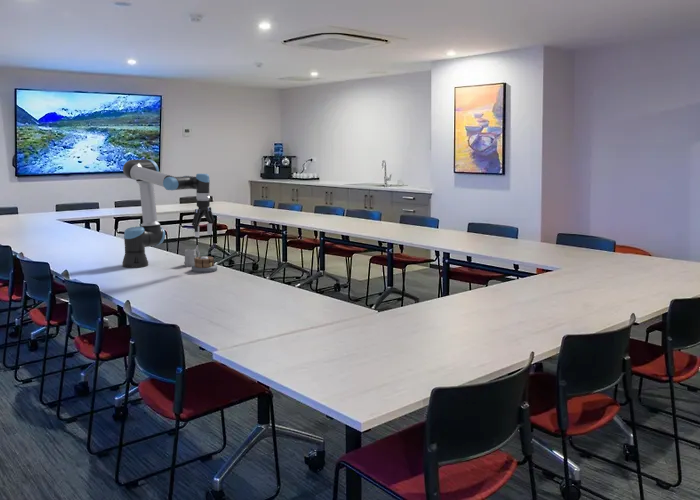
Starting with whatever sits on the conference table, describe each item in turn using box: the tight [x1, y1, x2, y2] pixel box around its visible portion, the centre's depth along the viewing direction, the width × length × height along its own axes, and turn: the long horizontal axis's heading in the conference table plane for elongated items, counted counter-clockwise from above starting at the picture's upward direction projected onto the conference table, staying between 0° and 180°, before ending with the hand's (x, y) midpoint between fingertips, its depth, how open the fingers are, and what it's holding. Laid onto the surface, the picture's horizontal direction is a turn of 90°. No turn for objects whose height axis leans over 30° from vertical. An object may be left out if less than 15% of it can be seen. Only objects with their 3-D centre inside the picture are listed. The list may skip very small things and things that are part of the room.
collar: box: [194, 255, 215, 268], centre depth 375 cm, size 11×11×5 cm
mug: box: [183, 244, 201, 267], centre depth 392 cm, size 8×12×12 cm, turn 148°
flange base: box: [191, 256, 218, 274], centre depth 375 cm, size 15×15×8 cm
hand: (203, 235), depth 373 cm, fingers open, 13 cm apart
